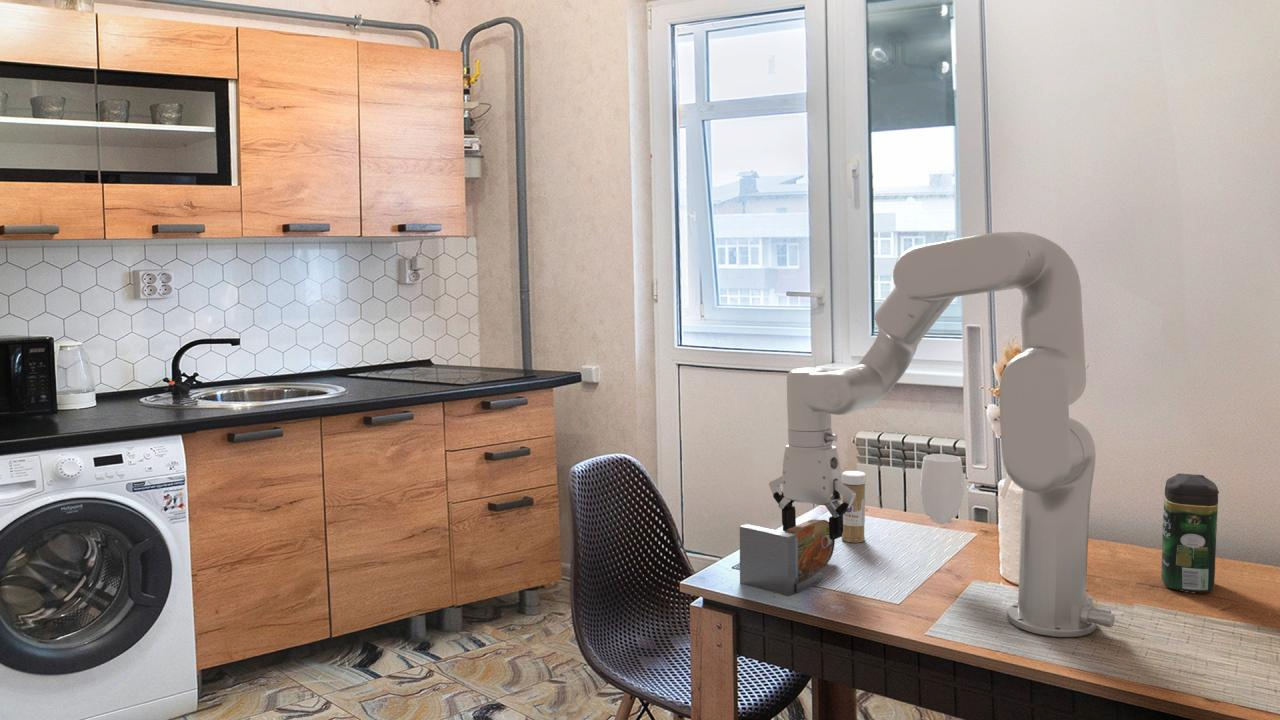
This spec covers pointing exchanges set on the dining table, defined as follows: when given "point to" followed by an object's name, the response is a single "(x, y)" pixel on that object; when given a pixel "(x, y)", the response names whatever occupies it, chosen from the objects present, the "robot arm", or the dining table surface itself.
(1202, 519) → the coffee jar
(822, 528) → the tin
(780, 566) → the frame
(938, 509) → the cup
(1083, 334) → the robot arm
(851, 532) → the sprinkles bottle
